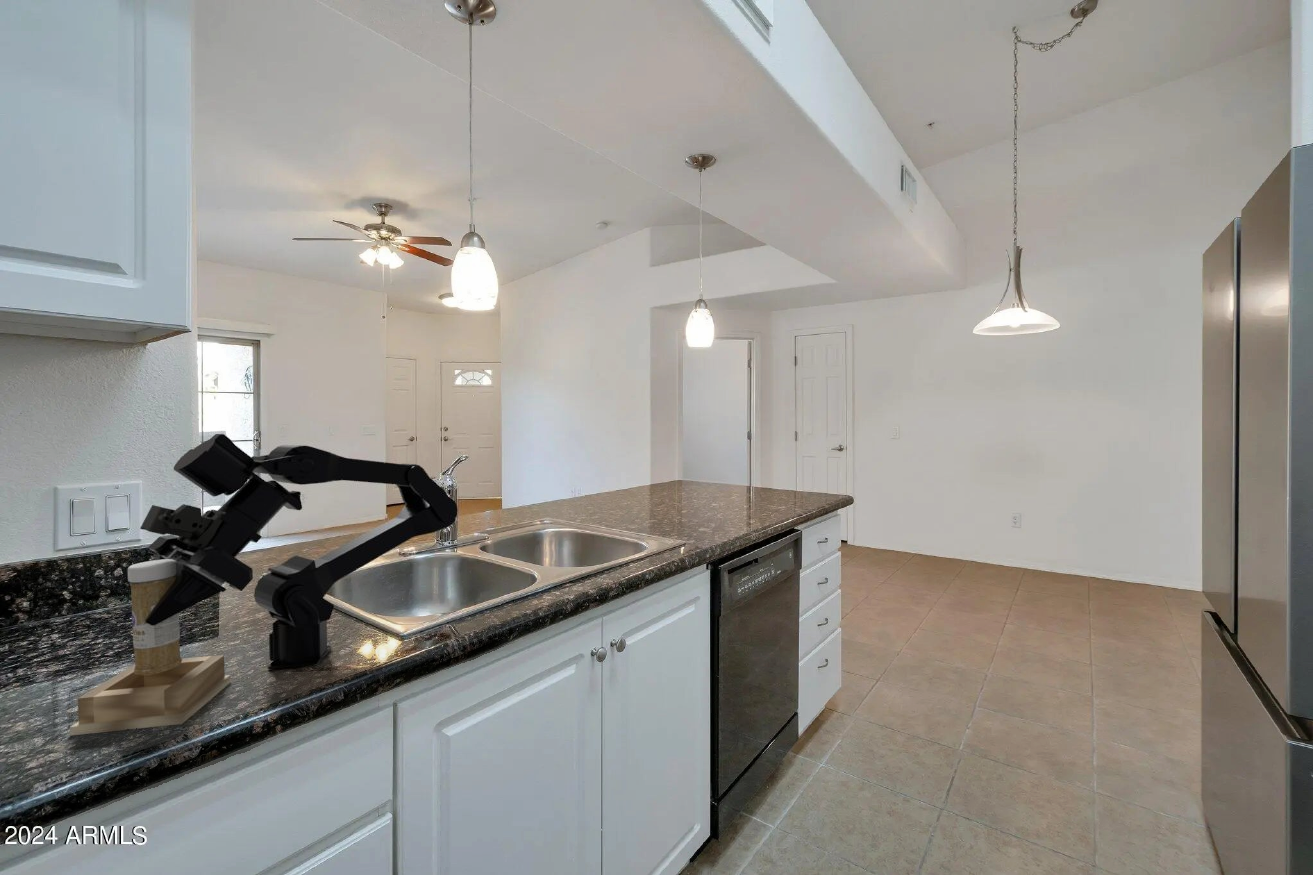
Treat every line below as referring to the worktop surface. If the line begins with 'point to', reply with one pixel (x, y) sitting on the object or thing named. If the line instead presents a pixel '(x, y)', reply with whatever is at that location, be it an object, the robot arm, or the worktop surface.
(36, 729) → the worktop surface
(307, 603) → the robot arm
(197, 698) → the caddy
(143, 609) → the sprinkles bottle
